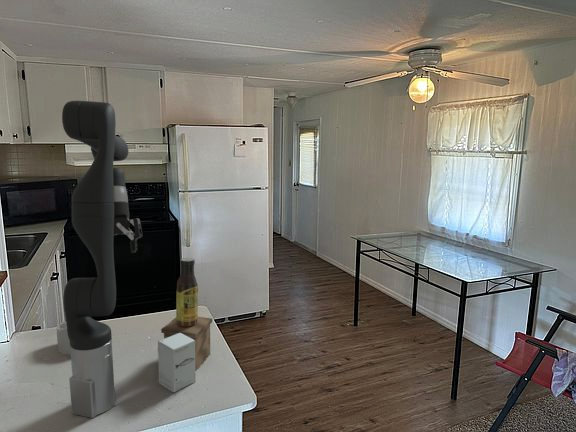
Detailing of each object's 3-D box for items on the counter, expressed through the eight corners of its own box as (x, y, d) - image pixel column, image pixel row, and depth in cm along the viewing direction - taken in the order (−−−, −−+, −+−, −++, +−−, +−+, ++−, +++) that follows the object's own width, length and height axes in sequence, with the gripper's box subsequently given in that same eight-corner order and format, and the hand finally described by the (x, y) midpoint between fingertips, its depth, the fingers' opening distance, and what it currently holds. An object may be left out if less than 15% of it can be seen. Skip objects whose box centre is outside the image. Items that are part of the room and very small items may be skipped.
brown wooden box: (196, 372, 119) (195, 334, 116) (162, 366, 121) (161, 329, 119) (212, 354, 129) (212, 318, 127) (181, 349, 132) (180, 314, 130)
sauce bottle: (185, 329, 119) (184, 264, 115) (172, 323, 123) (170, 259, 119) (202, 322, 124) (202, 259, 121) (189, 316, 128) (188, 255, 124)
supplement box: (173, 393, 109) (172, 349, 106) (158, 382, 113) (156, 340, 111) (196, 382, 114) (195, 340, 112) (180, 372, 119) (179, 331, 117)
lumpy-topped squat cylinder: (84, 357, 126) (82, 331, 124) (48, 351, 129) (46, 325, 127) (106, 342, 135) (105, 317, 134) (73, 336, 139) (71, 312, 137)
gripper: (86, 204, 123) (91, 257, 123) (132, 198, 123) (137, 252, 122) (98, 205, 131) (103, 256, 130) (142, 200, 130) (147, 251, 130)
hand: (120, 254), depth 126 cm, fingers open, 8 cm apart
